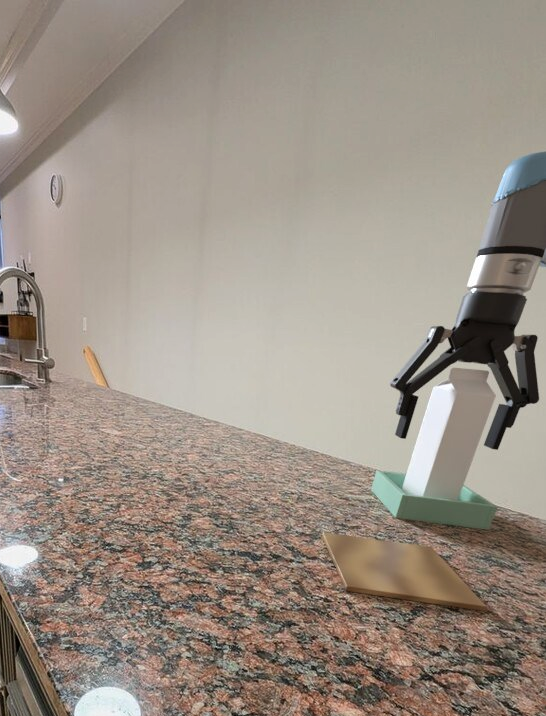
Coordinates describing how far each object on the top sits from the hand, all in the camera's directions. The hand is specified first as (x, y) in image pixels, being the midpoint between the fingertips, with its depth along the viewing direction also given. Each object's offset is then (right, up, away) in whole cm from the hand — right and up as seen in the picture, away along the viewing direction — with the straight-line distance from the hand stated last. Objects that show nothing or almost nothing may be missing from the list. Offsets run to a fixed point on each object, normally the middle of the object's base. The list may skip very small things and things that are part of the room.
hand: (444, 442), depth 70 cm
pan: (-1, -10, +4) cm, 11 cm away
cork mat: (-17, -18, -17) cm, 30 cm away
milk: (-1, -10, +4) cm, 11 cm away
